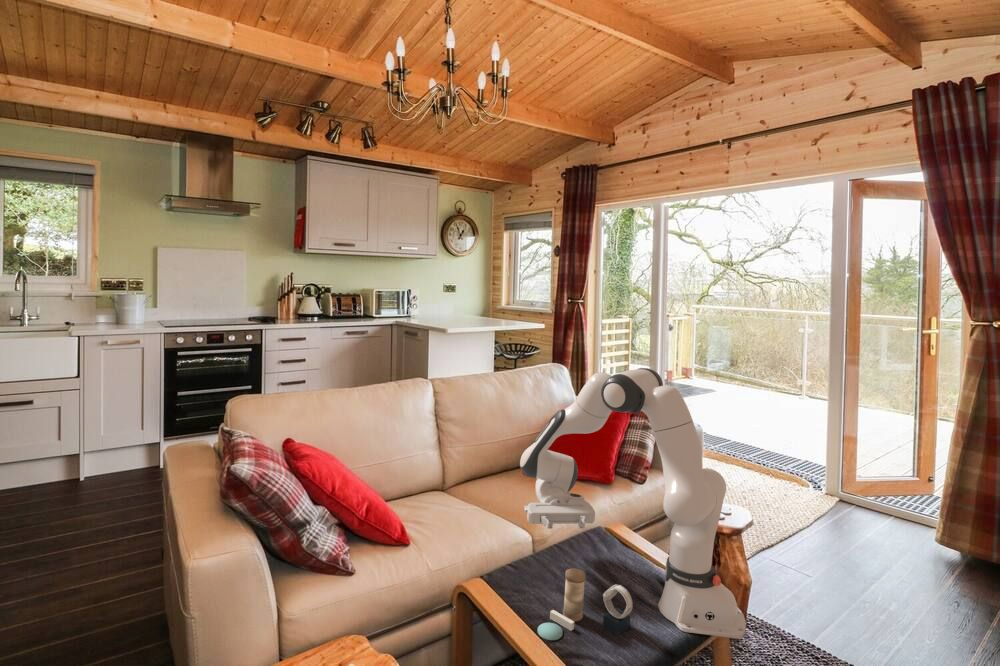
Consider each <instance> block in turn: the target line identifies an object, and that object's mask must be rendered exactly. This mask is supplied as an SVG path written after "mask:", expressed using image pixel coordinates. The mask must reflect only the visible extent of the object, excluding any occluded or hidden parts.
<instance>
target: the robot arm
mask: <svg viewBox="0 0 1000 666" xmlns="http://www.w3.org/2000/svg"><path fill="white" fill-rule="evenodd" d="M612 412H616V413H617V412H618V413H626V414H627V413H629V414H630V413H631V414H638V413H640V412H643V413H644V414H645V415H646V417H647V419H648V421H649V424H650V428H651V430H652V433H653V436H654V439H655V442H656V446H657V448H658V452H659V455H660V460H661V465H662V474H663V481H664V497H663V503H662V505H663V511H664V513H665V515H666V517H667V518H668V519H669V520H670V521H671V522H672V523H674V524H673V526H672V529H671V532H670V540H669V541H670V542H669V552H668V557H667V558H666V561H665V571H664V572H665V573H664V574H665V575H664V576H665V582H664V588H663V591H662V594H661V597H660V599H659V602H658V605H657V608H658V609H659V612H660V613H661V614H662V615H663V617H665V619H667V620H668V621H670V622H672V623H673V624H675V626H676V627H677V628H678V629H679V630H681V632H685V633H692V634H697V635H698V634H699V635H706V636H712V637H715V636H716V637H722V638H732V639H742V638H743V636H745V634H746V629H747V627H746V626H747V622H746V618H745V615H744V613H743V612H742V610H741V609H740V608H739V607H738V603H737V601H736V597H735V596H734V593H732V591H731V590H730V589H729V588H727V587H726V586H725V585H724V584H723V583H722V581H721V580H722V579H721V577H720V576H719V574H720V573H719V570H718V568H717V565H712V564H713V562H712V561H713V553H714V552H713V551H714V544H715V539H716V538H715V537H716V534H717V531H718V526H719V522H720V517H721V515H722V514H721V513H722V510H723V504H724V500H725V496H726V493H727V483H726V480H725V479H724V477H723V475H721V473H720V472H718V471H717V470H715V469H713V468H708V467H706V468H705V467H704V468H703V462H702V461H703V460H702V459H703V457H702V456H703V455H702V454H703V447H702V444H701V441H700V437H699V434H698V432H697V428H696V427H695V423H694V420H693V417H692V415H691V412H690V410H689V408H688V405H687V403H686V402H685V399H684V397H683V396H682V394H681V392H680V390H679V389H677V388H676V387H675V386H672V385H664V382H663V379H662V377H661V375H660V373H658V372H657V371H656V370H654V369H651V368H647V367H646V368H645V367H639V368H636V369H628V370H625V371H621V372H619V373H616V374H613V375H611V374H609V373H607V372H601V371H600V372H599V371H598V372H596V373H594V374H593V375H591V376H590V377H589V379H587V381H586V383H584V385H583V387H582V388H581V390H580V391H579V393H578V394H577V396H576V398H575V400H574V401H573V402H572V403H571V404H570V405H569V406H567V407H566V408H564V409H559V410H558V411H556V412H555V413H554V415H552V417H550V420H548V422H547V423H546V425H544V427H543V429H542V430H541V431H540V432H539V433H538V435H537V436H536V437H535V439H534V440H533V441H532V443H531V444H529V445H528V446H527V447H526V448H525V449H524V451H523V452H522V455H520V456H521V457H520V460H519V467H520V469H521V471H522V473H523V474H524V476H525V477H527V478H530V479H536V481H535V485H534V487H535V494H536V498H537V501H538V502H529V503H528V504H526V505H524V506H523V510H524V512H526V514H527V515H526V519H527V522H528V523H529V524H531V525H543V526H545V527H546V529H547V530H549V529H553V525H556V524H557V525H559V524H561V525H563V524H567V525H568V524H569V525H570V524H571V525H572V524H573V525H574V524H575V525H576V524H577V527H578V528H579V529H585V528H586V524H587V525H588V524H593V523H595V520H596V511H595V509H594V507H593V505H592V504H591V503H590V502H589V501H588V500H585V496H584V495H583V494H577V493H574V492H573V493H572V492H570V491H571V490H572V489H573V488H574V487H575V485H576V483H577V480H578V475H579V469H578V465H577V462H576V460H575V459H574V457H573V456H569V455H568V454H564V453H560V452H556V451H553V450H551V449H549V448H550V447H551V446H552V444H553V443H554V442H555V440H556V439H557V438H559V437H561V436H564V435H571V434H585V435H586V434H591V433H595V432H598V431H599V430H601V429H602V428H603V427H604V425H605V424H606V422H607V421H608V419H609V417H610V415H611V413H612Z"/></svg>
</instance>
